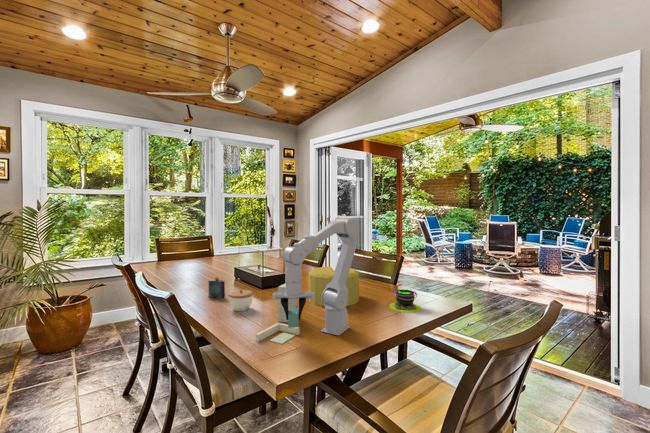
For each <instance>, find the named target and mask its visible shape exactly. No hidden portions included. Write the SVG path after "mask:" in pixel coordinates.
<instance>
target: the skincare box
mask: <svg viewBox="0 0 650 433" xmlns="http://www.w3.org/2000/svg"><path fill="white" fill-rule="evenodd" d="M279 292H285V283H283V284H281V285H279V286H278V287H277V293H279ZM277 305H278V306H277V316H278V317H277V320H278V323H285V324H288V320H287V319H286V314H285V311H284V308H283V306H282V304H281V299H277ZM289 309H299V307H298V299H288V311H289Z"/></svg>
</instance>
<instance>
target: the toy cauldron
mask: <svg viewBox="0 0 650 433" xmlns="http://www.w3.org/2000/svg"><path fill="white" fill-rule="evenodd" d="M407 287H410V285H407ZM411 288H412V289H414V287H412V286H411ZM412 289H408V288H406V289H400V288H399V289H398V290H397V289H396V290H394V291H393V292H392V293H393V294H394V296H395V299H396V302H392V303H390V304H389V305H388V307H389V309H391V310H393V311H395V310H396V311H395V312H399V311H400V313H417V312H420V311H421V310H422V307H421V306H420V305H418V304H416V303H414V301H415V299H416V298H417V297H418V293H417V292H416V291H413V290H412Z"/></svg>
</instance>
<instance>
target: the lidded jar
mask: <svg viewBox="0 0 650 433" xmlns="http://www.w3.org/2000/svg"><path fill="white" fill-rule="evenodd" d="M253 295H254V294H253V290H249V289H242V288H240V289H238V290H233V291H230V292H229V293H228V296H229V297H228V298H229V300H228V301H229V303H230V307H231V308H232V309H233V310H234V312H244V311H247V310H248V309H249V308H250V307H251V305H252V303H253Z"/></svg>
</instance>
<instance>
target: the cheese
mask: <svg viewBox="0 0 650 433" xmlns="http://www.w3.org/2000/svg"><path fill="white" fill-rule="evenodd" d="M334 272H335V269H334V268H333V267H332V266H322V267H321V266H320V267H317V268H316V267H315V268H313V269H311V270H310V271H309V272H308V292H314V299H308V301H309V302H310V303H312V304H314V305H317V306H322V307H325V306H324V303H323V301H322V298H321V297H322V293H323V291H324V290H325V289H326V286H327V284H328V283H330V282H331V281H332V279H333V275H334ZM345 286H346V288H347V289H348V291H349V293H348V303H347V305H346V307H349V306H353V305H355V304H358V303H359V301H360V272H359V271H358V270H356V269H354V268H351V267H350V270H349V274H348V278H347V281H346V285H345ZM335 291H337V290H335Z"/></svg>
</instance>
